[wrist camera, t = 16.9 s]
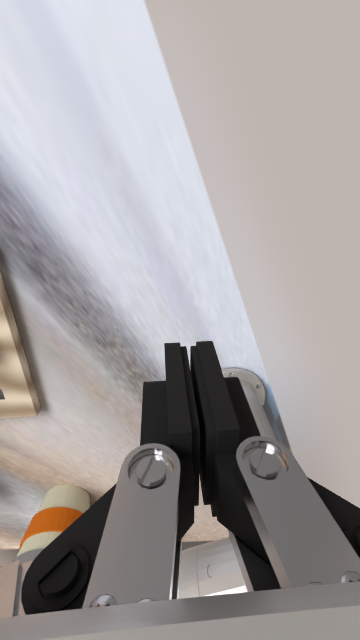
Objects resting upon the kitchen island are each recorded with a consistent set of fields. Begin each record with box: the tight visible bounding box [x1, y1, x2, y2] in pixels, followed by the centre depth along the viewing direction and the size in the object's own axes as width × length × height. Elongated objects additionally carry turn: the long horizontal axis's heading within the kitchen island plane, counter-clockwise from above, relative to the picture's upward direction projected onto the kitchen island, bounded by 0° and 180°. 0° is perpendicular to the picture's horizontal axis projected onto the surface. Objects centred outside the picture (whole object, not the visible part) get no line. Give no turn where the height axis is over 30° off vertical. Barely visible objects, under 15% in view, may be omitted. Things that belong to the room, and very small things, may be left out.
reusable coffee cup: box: [13, 485, 90, 564], centre depth 57 cm, size 12×13×15 cm
